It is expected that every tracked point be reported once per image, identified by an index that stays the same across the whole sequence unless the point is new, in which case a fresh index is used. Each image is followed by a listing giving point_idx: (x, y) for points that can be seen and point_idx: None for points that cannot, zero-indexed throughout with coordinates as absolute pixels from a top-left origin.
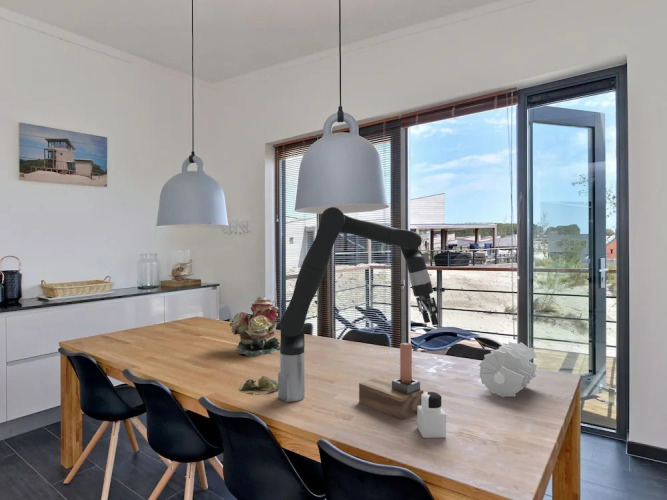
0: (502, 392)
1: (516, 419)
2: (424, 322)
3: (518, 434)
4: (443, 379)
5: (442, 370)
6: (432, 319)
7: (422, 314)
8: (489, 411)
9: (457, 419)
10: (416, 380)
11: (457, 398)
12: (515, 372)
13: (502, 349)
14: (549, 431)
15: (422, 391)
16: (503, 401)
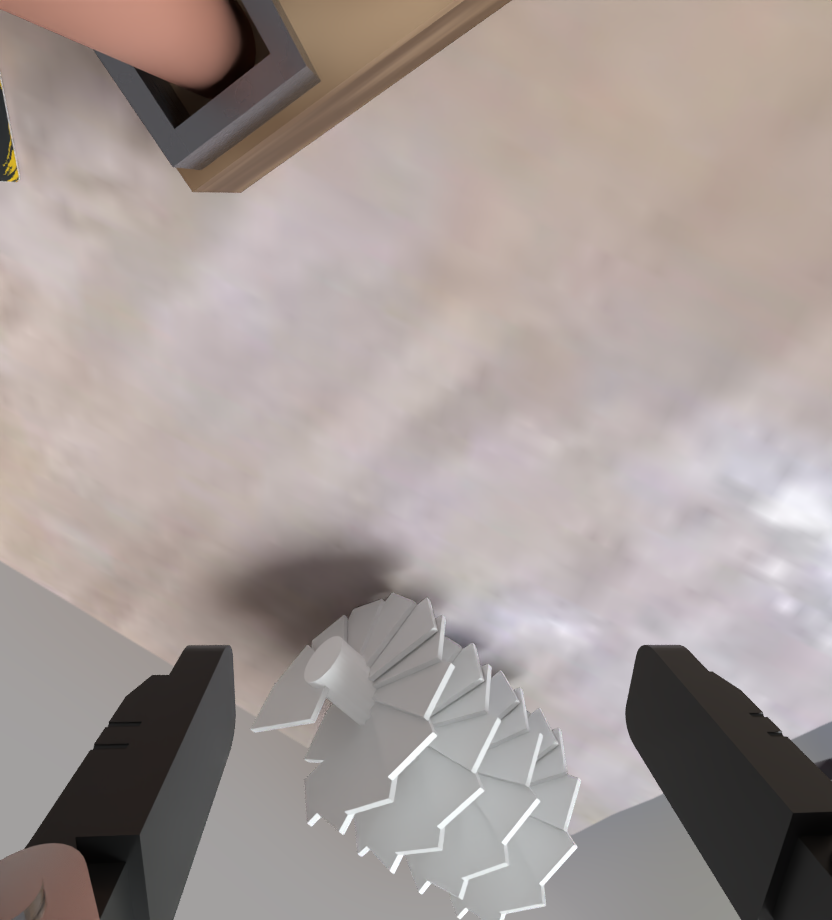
0: (353, 622)
1: (145, 542)
2: (676, 646)
3: (11, 480)
4: (638, 500)
5: (763, 555)
6: (139, 756)
7: (812, 802)
8: (220, 495)
9: (129, 323)
10: (196, 143)
11: (377, 443)
12: (342, 737)
13: (433, 832)
14: (54, 579)
15: (187, 181)
16: (317, 590)
